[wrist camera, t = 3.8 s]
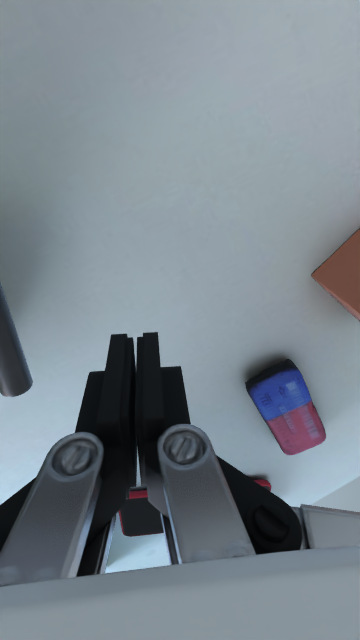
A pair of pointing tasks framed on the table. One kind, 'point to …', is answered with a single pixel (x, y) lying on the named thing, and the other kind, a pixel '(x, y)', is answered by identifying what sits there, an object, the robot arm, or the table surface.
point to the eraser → (287, 407)
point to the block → (343, 275)
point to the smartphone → (147, 514)
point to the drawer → (11, 356)
